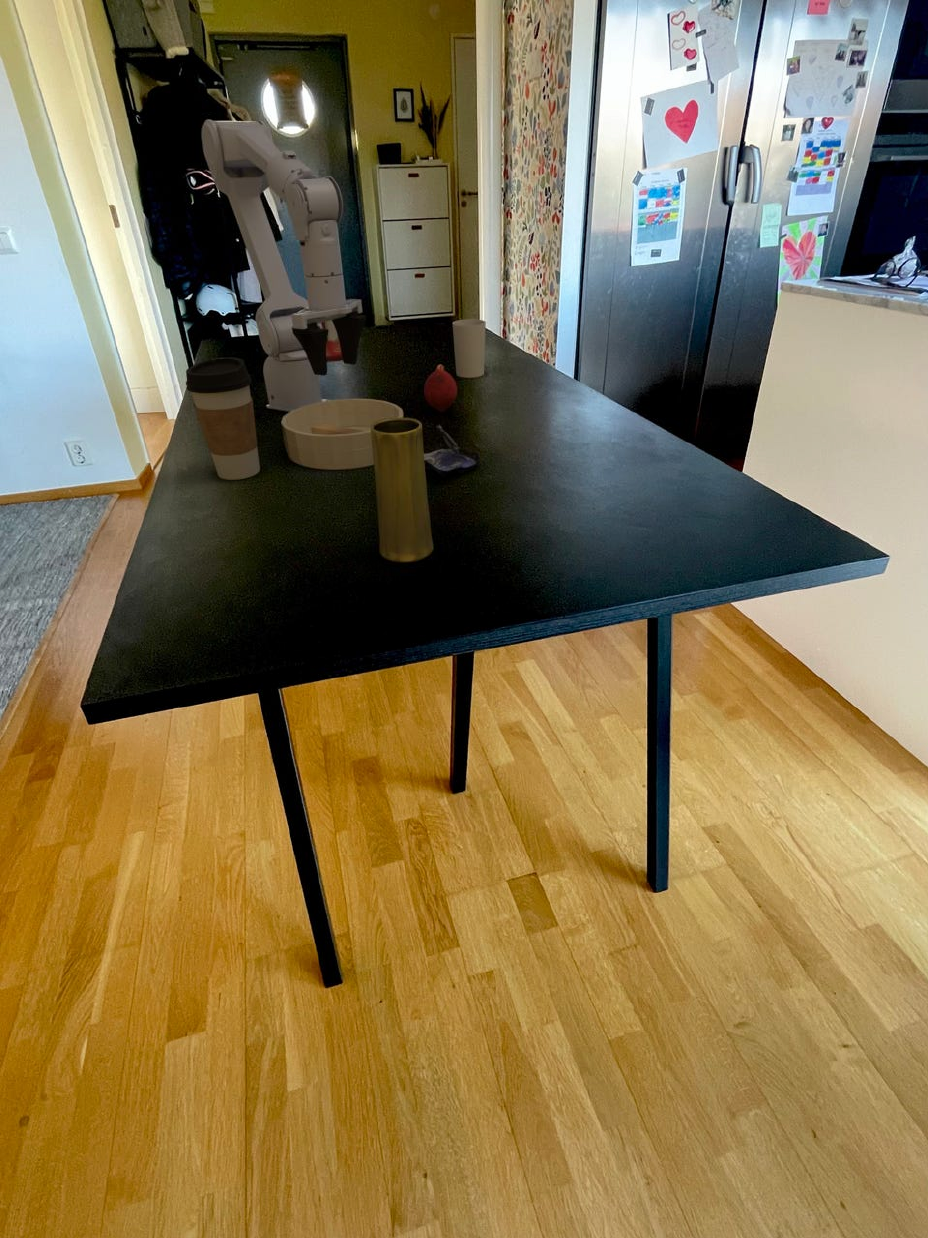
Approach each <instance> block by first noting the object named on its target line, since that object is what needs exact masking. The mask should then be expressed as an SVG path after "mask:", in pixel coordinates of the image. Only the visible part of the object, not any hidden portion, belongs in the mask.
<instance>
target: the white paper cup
mask: <svg viewBox="0 0 928 1238" xmlns="http://www.w3.org/2000/svg"><path fill="white" fill-rule="evenodd" d="M486 325H487V321H486V320H483V319H473V318H472V319H470V318H469V319H460V320H458V319H457V320H455V321H453V322H452V333H453V347H454V360H455V361H454V362H455V373H456V374H455V375H456V376H457V377H459V378H466V379H467V378H469V379H470V378H471V379H473V378H479V377H482V376H484V375H485V360H486V359H485V356H486V327H487V326H486Z"/></svg>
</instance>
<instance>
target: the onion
mask: <svg viewBox="0 0 928 1238" xmlns="http://www.w3.org/2000/svg"><path fill="white" fill-rule="evenodd" d="M423 393H424V398H425V400H426V402H427V404H428V405H430V407H431V408H433V409H434V410H436V411H438V412H439V413H444V412H446V410H448V409H449V408H450V407H451V406H452V405H453V403H455V401H456V399H457V396H458V386H457V383H456V380H455V379H454V377H453V376H452V375H451V374H450V373H449V372H448V371H446V370H445V366H444V365H443V364H438V365H437V366H436V368H435V370H434V371H433V372H432V373H430V374H429V376H428V377H427V379H426V380H425V383H424V386H423Z"/></svg>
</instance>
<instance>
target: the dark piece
mask: <svg viewBox="0 0 928 1238" xmlns="http://www.w3.org/2000/svg"><path fill="white" fill-rule="evenodd" d="M430 428H433V425H432V426H430ZM435 428H436V430H437V431H438V432H439V434H442V438H443V439H444V441H445V443H446V445H447V446H448V447H449V448H448V449H446V448H441V449H436V450H434V451H432V452H429V453H428V452H427V453H424V463H425V470H433V471H435V472H436V473H437V474H439V475H440V476H441V477H442V478H444V477H445V476H447V474H449V473H450V472H452V471H455V470H457V471H458V472H459V473H460V475H462V474H464V473H465V472H468V471H469V472H470V471H471V470H472V469H474V468H475V467H476V466H477V465H479V464H480V463H481V460H480V456H479V453H478V452H475V451H473V452H470V451H468V450H467V449H462V448H461V447H460V446H459V444H458V443H457V442H455V441H454V439H453V438H452V437H451V436H450V434H449V433H447V432H446V431H445V430H444V428H442V426H441V425H440V423H438V424H437V425H436V426H435ZM457 476H458V475H454V476H453V477H454V478H455V477H457ZM441 482H442V483H443V482H444V480H441Z"/></svg>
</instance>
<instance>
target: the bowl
mask: <svg viewBox="0 0 928 1238" xmlns="http://www.w3.org/2000/svg"><path fill="white" fill-rule="evenodd" d="M329 400H330V401H323V402H317V403H313V404H309V405H305V406H302V407H300V408H297V409H295V410H292V411H290V412H287V413H286V414H285V415H283V417H282V420H281V422H280V424H281V430H282V435H283V441H284V447H285V451H286V453H287V457H288V458H289V460H290V461H292V462H293V463H295V464H297V465H299V466H302V467H306V468H311V469H318V470H328V471H329V470H331V471H334V470H335V471H336V470H337V471H339V470H352V469H360V468H366V467H371V466H374V458H373V447H372V438H371V425H372V424H373V423H375V422H377V421H379V420H383V419H388V418H405V417H404V411H403V410H404V409H402V407H400V406H399V405H398V404H395V403H392V402H389V401H386V400H379V399H374V398H373V399H372V398H339V399H329ZM319 423H322V424H328V425H334V426H340V427H345V428H351V429H357V430H363V431H364V432H358V433H352V434H336V435H323V434H312V430H311V427H312V426H315V425H317V424H319Z"/></svg>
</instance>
